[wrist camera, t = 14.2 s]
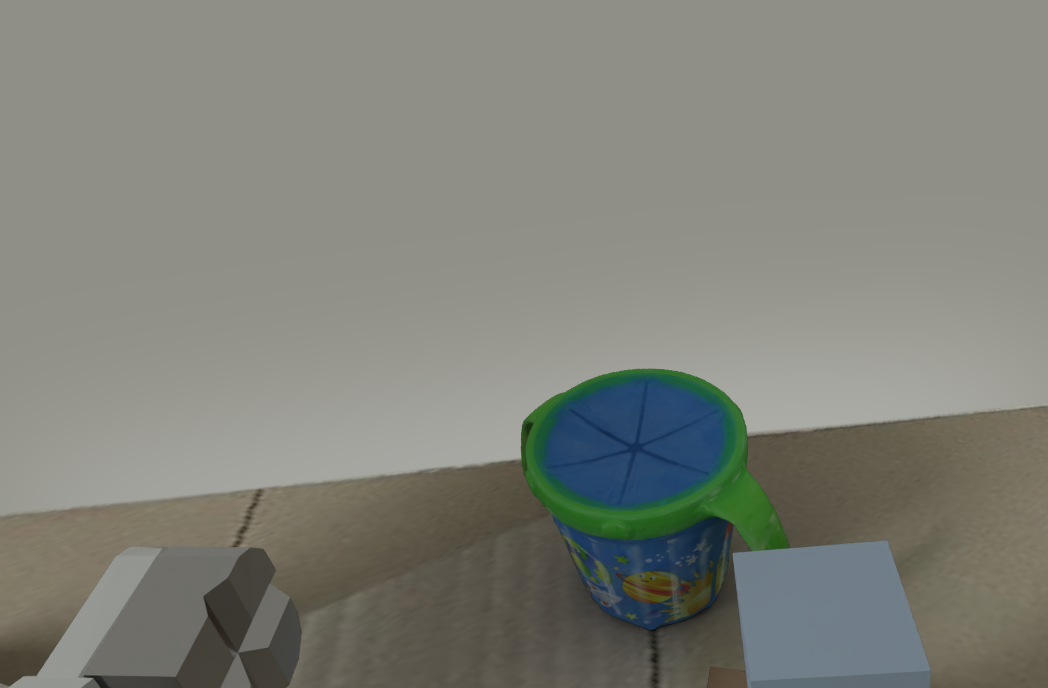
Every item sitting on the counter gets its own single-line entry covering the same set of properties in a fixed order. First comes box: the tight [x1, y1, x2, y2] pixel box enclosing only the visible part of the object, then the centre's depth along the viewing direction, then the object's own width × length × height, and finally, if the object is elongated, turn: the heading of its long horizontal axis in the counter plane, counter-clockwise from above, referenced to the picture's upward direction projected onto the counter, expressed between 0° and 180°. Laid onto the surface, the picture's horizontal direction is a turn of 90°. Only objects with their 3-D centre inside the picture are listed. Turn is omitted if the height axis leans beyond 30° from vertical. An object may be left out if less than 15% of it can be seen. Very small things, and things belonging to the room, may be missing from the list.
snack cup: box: [521, 369, 790, 630], centre depth 46 cm, size 16×10×10 cm
